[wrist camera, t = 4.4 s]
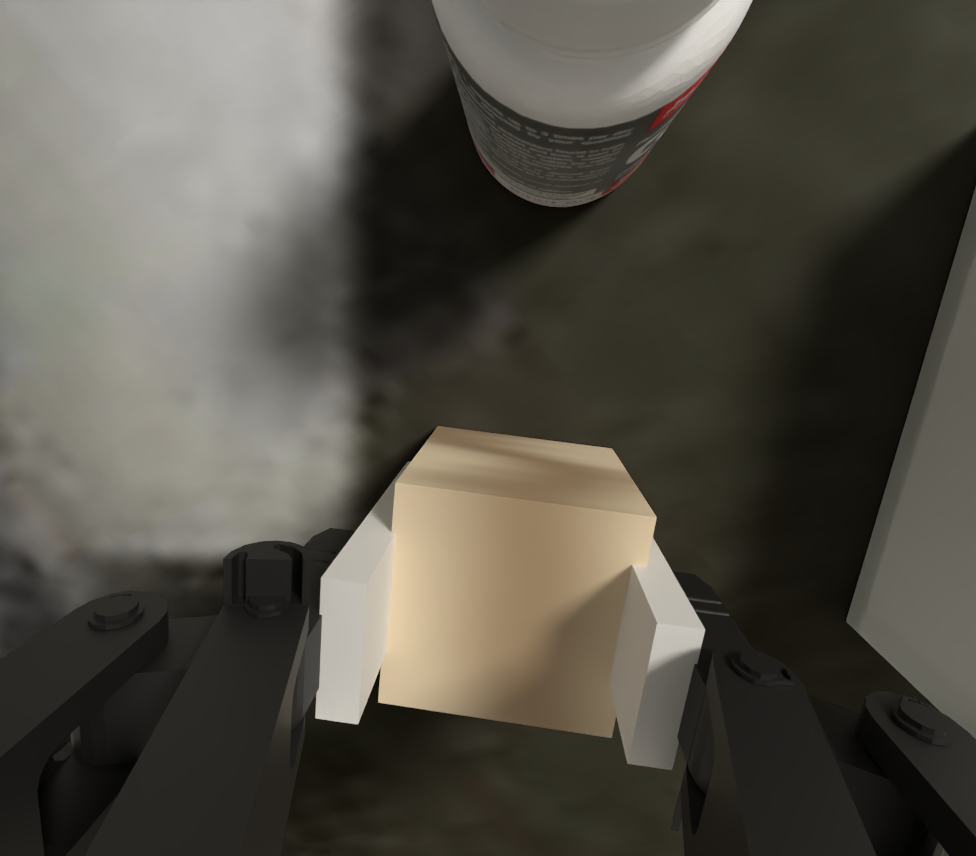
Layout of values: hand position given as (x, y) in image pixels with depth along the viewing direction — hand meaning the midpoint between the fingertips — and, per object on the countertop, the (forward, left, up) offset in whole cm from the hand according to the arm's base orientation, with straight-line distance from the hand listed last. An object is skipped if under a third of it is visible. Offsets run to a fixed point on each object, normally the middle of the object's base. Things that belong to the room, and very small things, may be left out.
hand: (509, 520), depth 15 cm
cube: (0, 0, -1) cm, 1 cm away
